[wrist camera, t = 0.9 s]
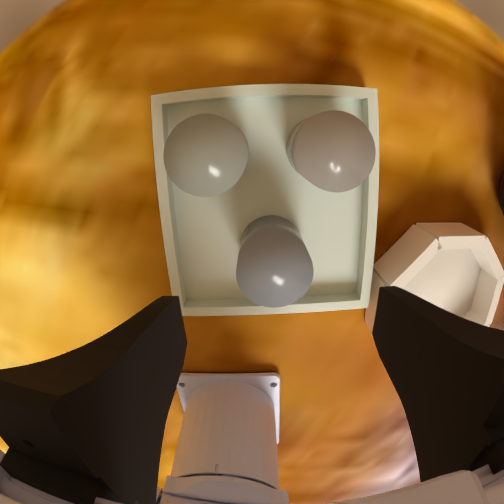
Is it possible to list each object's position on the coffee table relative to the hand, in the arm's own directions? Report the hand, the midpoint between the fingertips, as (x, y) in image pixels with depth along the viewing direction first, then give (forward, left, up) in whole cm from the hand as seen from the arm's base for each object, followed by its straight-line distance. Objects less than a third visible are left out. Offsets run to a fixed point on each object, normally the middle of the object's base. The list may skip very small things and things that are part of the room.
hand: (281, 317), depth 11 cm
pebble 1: (+5, +3, -8) cm, 10 cm away
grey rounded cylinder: (0, 0, -8) cm, 8 cm away
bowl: (-4, -11, -8) cm, 15 cm away
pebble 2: (+5, -3, -8) cm, 10 cm away
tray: (+2, 0, -8) cm, 9 cm away
